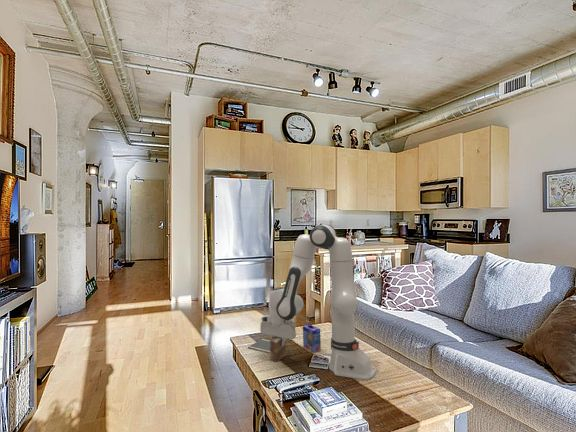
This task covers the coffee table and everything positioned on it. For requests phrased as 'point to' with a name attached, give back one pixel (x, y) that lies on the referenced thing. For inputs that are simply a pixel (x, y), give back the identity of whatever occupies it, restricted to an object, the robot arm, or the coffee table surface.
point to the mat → (261, 346)
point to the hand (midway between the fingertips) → (277, 344)
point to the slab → (277, 349)
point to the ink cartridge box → (311, 338)
